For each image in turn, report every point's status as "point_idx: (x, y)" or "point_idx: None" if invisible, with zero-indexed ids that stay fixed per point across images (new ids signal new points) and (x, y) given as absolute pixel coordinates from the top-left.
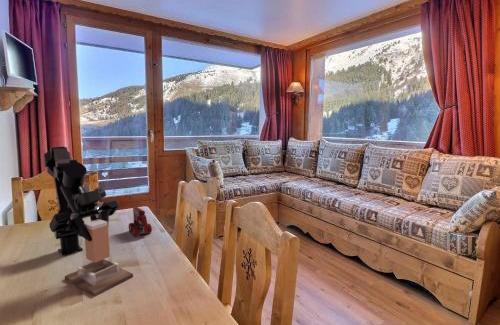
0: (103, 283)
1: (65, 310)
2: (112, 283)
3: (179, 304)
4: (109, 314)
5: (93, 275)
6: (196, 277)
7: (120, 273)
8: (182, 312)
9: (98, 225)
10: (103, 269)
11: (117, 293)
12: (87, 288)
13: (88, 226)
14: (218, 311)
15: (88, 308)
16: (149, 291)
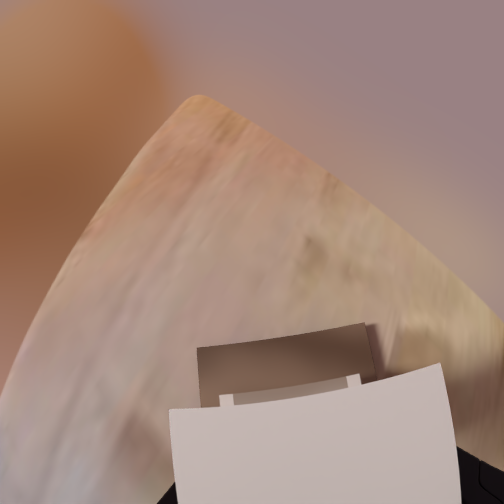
0: (315, 365)
1: (444, 312)
2: (290, 338)
3: (212, 148)
4: (353, 213)
5: (355, 374)
6: (103, 204)
7: (228, 391)
8: (227, 129)
9: (338, 392)
10: (300, 395)
11: (297, 289)
12: (373, 373)
13: (450, 464)
14: (186, 106)
15: (392, 276)
16: (221, 230)
